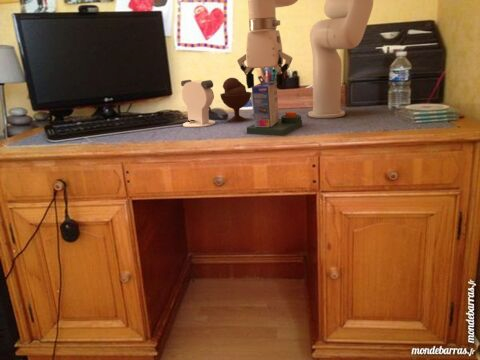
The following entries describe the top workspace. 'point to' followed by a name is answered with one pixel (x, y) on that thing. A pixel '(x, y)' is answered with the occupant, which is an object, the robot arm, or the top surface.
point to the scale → (278, 126)
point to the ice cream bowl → (235, 97)
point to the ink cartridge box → (265, 103)
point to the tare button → (290, 114)
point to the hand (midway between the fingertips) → (265, 87)
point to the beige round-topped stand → (198, 102)
